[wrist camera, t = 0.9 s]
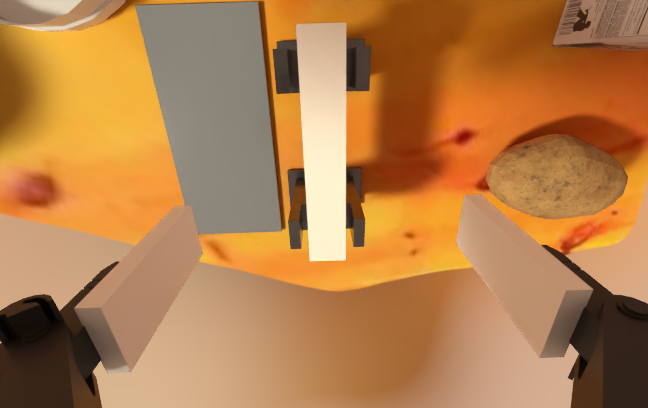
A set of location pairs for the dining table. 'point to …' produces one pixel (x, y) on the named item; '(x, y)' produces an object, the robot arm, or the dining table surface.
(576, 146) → the potato
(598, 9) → the coffee box
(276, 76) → the post
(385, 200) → the dining table surface
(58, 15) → the dish
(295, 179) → the post
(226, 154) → the slate board
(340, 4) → the dining table surface
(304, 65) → the rail
